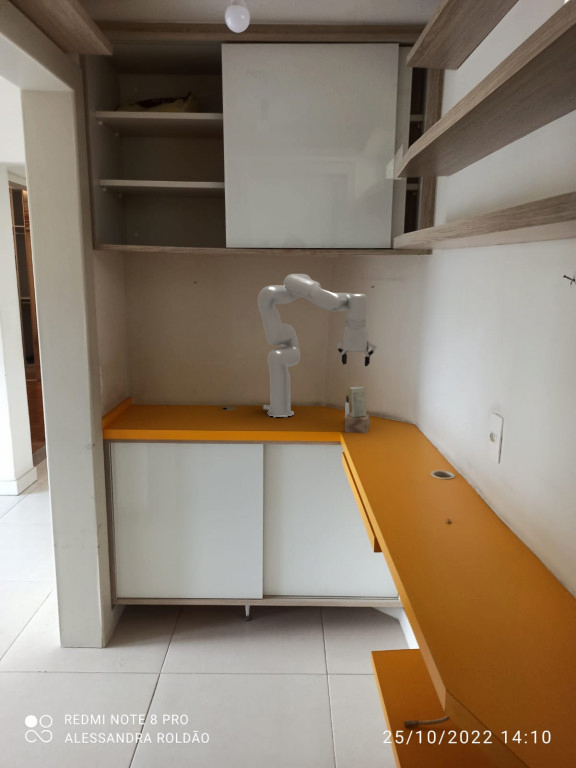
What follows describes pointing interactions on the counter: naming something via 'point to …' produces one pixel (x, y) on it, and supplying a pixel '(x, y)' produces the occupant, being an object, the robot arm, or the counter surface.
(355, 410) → the skincare box
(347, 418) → the brown square block
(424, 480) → the counter surface
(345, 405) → the jar
